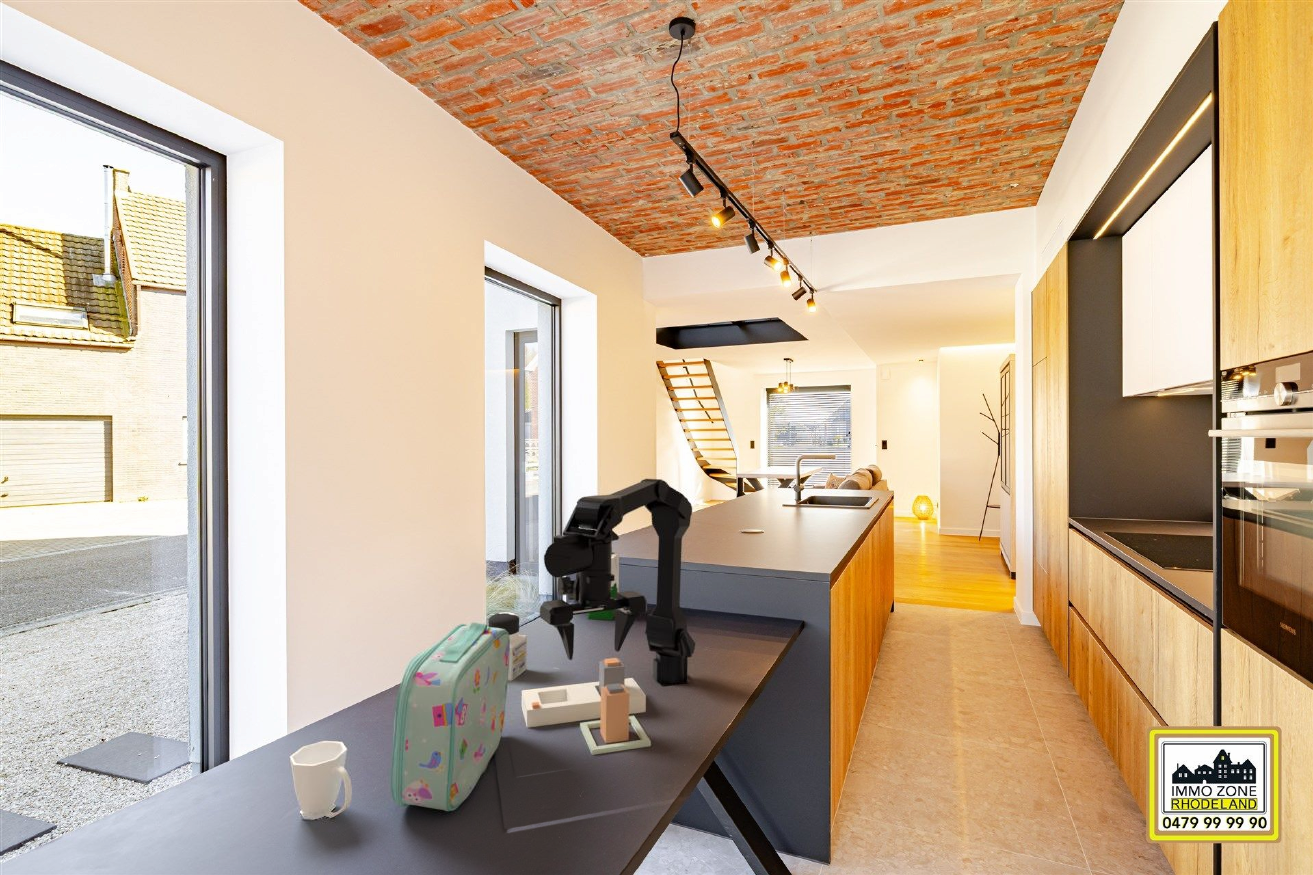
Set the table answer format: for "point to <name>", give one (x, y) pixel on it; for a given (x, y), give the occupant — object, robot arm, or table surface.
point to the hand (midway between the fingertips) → (594, 654)
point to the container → (512, 642)
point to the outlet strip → (572, 703)
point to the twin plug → (611, 672)
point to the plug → (614, 713)
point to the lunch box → (449, 717)
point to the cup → (320, 778)
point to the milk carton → (614, 589)
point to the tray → (618, 746)
